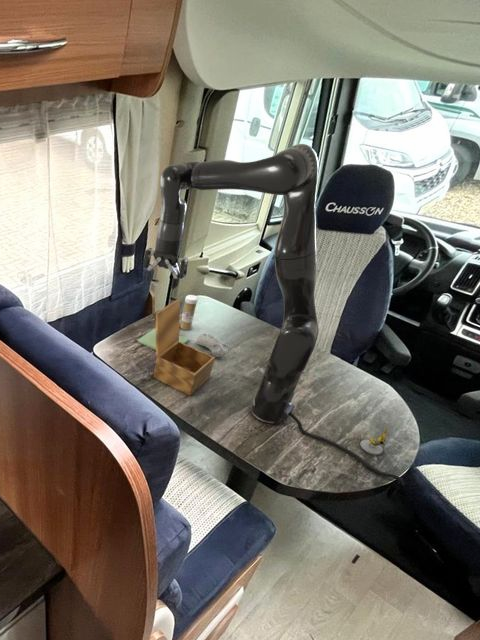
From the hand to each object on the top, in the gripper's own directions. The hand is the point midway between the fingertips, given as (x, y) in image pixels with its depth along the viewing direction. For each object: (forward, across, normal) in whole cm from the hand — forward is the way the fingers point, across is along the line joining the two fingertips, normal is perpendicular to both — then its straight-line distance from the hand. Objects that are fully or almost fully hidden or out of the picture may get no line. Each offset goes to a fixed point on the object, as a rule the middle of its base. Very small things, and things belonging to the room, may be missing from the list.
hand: (161, 284), depth 144 cm
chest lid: (+12, +7, -5) cm, 14 cm away
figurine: (+28, +72, -2) cm, 78 cm away
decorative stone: (+28, +16, +17) cm, 37 cm away
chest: (+28, +15, -5) cm, 32 cm away
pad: (+28, -1, +11) cm, 30 cm away
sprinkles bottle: (+28, +2, +26) cm, 38 cm away
